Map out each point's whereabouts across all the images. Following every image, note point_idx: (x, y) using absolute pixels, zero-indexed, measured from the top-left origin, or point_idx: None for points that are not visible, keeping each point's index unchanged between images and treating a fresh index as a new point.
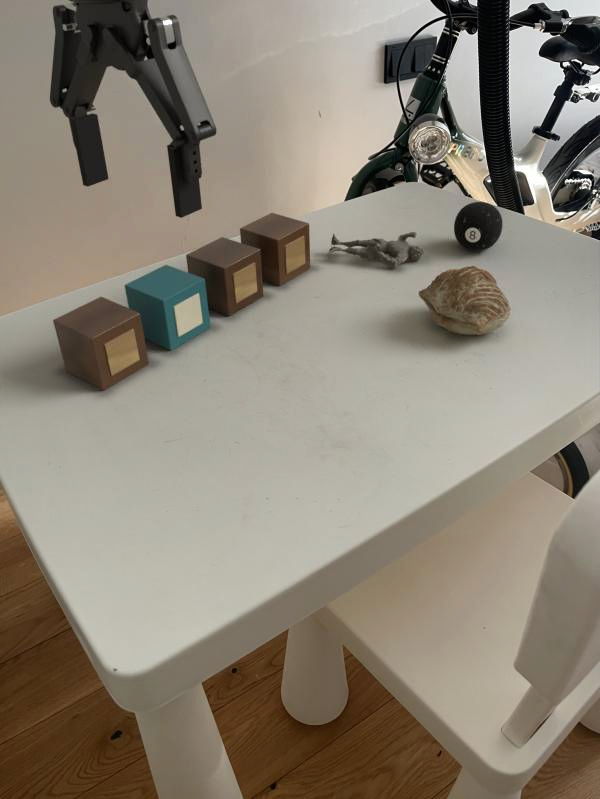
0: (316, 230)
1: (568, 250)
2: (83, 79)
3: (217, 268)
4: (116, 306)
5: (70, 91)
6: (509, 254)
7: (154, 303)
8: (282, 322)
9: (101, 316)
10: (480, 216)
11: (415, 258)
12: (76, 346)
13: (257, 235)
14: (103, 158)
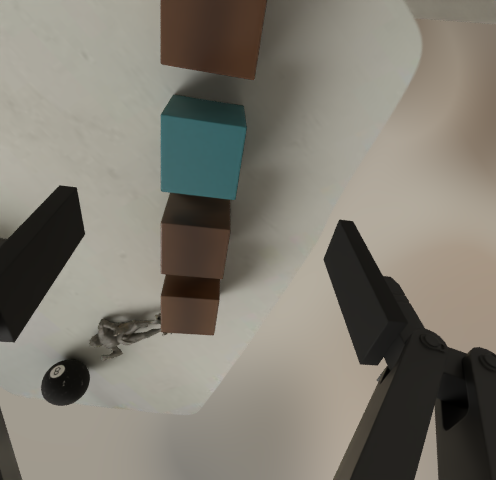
0: (213, 342)
1: (15, 381)
2: (360, 452)
3: (173, 221)
4: (208, 63)
5: (424, 399)
6: (45, 364)
7: (182, 114)
8: (114, 204)
9: (205, 20)
10: (48, 389)
11: (95, 335)
12: None
13: (191, 296)
14: (334, 284)
